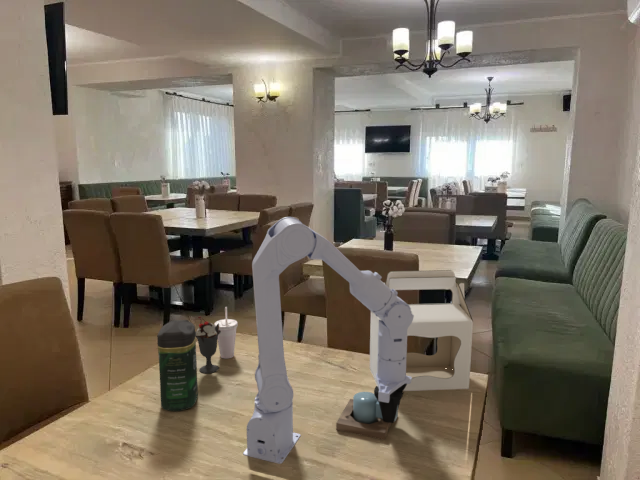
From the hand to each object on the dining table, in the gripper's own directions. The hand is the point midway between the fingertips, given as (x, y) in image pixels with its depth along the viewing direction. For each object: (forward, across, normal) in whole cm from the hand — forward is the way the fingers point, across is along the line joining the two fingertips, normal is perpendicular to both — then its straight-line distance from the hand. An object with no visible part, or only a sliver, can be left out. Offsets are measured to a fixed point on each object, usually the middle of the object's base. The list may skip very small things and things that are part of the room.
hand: (390, 417), depth 94 cm
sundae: (+3, +10, +50) cm, 51 cm away
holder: (+2, 0, +5) cm, 6 cm away
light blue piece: (+2, 0, +3) cm, 4 cm away
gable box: (+3, +24, -2) cm, 24 cm away
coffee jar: (+3, -6, +47) cm, 47 cm away
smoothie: (+3, +19, +50) cm, 54 cm away
